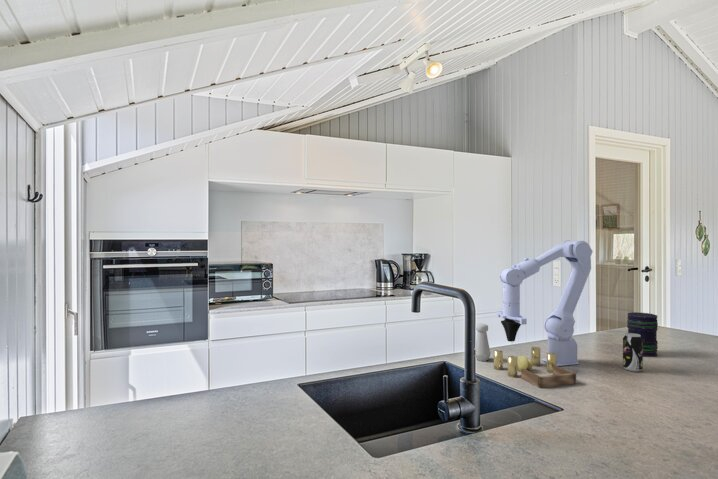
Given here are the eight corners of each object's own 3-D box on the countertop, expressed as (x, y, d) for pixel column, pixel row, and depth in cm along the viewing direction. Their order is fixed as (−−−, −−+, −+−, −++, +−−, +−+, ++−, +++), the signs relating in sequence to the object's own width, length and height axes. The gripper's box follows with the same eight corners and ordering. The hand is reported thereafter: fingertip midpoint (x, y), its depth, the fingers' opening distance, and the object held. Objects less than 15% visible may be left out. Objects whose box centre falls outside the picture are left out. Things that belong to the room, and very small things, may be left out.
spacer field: (536, 363, 156) (536, 346, 156) (558, 372, 146) (558, 354, 146) (492, 367, 151) (492, 350, 151) (511, 377, 141) (511, 358, 141)
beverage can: (639, 373, 144) (639, 337, 144) (620, 369, 149) (620, 334, 149) (645, 370, 148) (645, 334, 148) (626, 366, 152) (626, 331, 152)
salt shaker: (488, 357, 164) (488, 322, 163) (491, 362, 158) (491, 326, 158) (472, 357, 164) (472, 322, 164) (475, 361, 159) (475, 325, 158)
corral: (555, 374, 144) (555, 365, 144) (575, 383, 135) (575, 373, 135) (521, 378, 140) (521, 369, 140) (539, 387, 131) (539, 377, 131)
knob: (525, 373, 145) (524, 358, 145) (513, 369, 150) (513, 354, 150) (535, 371, 147) (535, 356, 147) (524, 367, 152) (524, 352, 152)
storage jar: (657, 352, 170) (657, 313, 170) (658, 358, 162) (658, 318, 162) (627, 348, 175) (627, 311, 175) (626, 354, 167) (626, 315, 167)
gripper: (489, 300, 161) (489, 337, 162) (513, 306, 147) (513, 346, 148) (506, 299, 163) (506, 335, 163) (531, 305, 149) (531, 345, 149)
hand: (511, 341), depth 156 cm, fingers closed
